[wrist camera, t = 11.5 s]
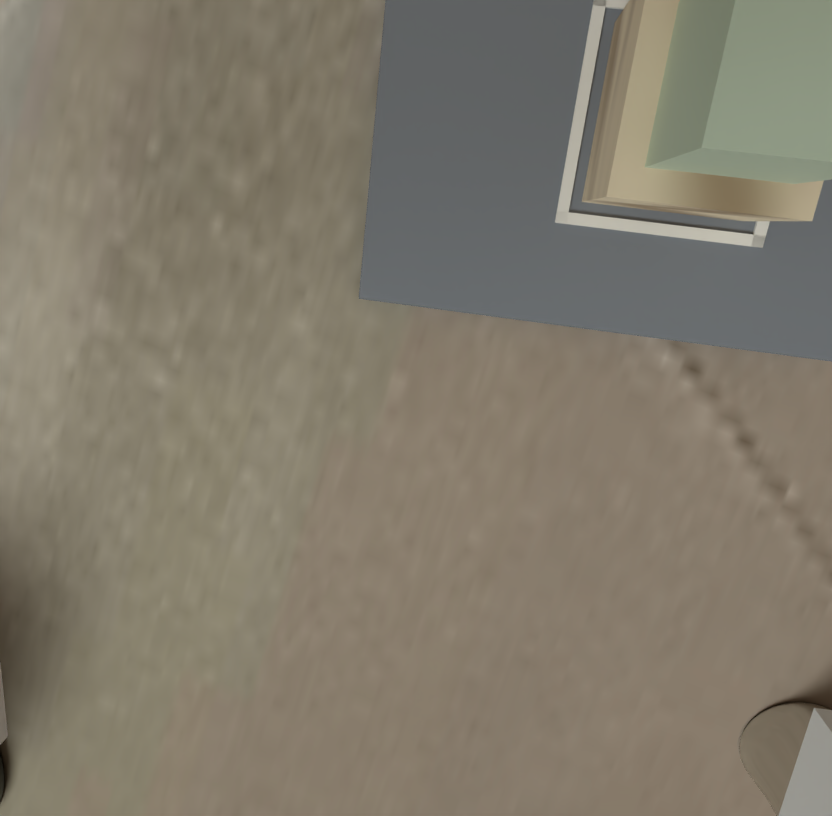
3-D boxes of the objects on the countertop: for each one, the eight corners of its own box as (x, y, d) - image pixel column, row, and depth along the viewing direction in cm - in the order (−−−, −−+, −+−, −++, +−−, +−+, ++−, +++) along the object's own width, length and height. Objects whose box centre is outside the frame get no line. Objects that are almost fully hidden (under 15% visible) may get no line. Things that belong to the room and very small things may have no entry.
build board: (363, 295, 31) (358, 298, 30) (398, -86, 27) (393, -102, 25) (821, 356, 30) (837, 362, 28) (944, -36, 25) (969, -50, 24)
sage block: (644, 167, 22) (701, 148, 16) (679, 2, 20) (754, -85, 15) (794, 183, 21) (906, 170, 16) (840, 17, 20) (982, -66, 14)
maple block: (581, 201, 28) (606, 196, 22) (614, 22, 26) (651, -34, 20) (743, 221, 27) (811, 221, 22) (790, 40, 25) (879, -13, 20)
